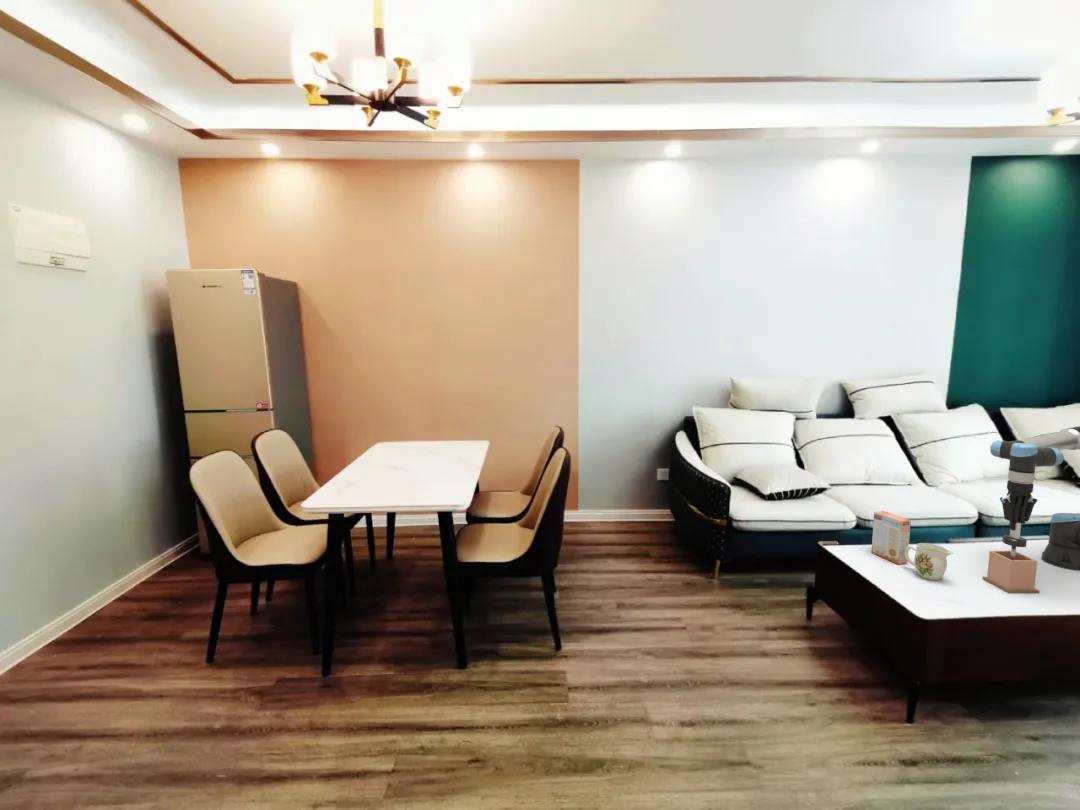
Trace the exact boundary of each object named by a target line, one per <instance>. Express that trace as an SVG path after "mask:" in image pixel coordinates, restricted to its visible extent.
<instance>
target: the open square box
mask: <svg viewBox="0 0 1080 810" xmlns="http://www.w3.org/2000/svg"><path fill="white" fill-rule="evenodd" d="M1010 556H1011V550H989V555H988V564H987V574H986V576H982V580H983V581H985V582H986V583H989V584H990V585H992V586H994V587H995V588H997V589H998V590H999V589H1000V590H1001V591H1003V592H1005V593H1007V594H1040V590H1039V589H1036V588H1035V586H1036V577H1037V569H1038V560H1036V559H1034V558H1031V557H1029V556H1027V555H1025V554H1022V553H1020V552H1018V551H1016V554H1015V560H1010Z"/></svg>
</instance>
